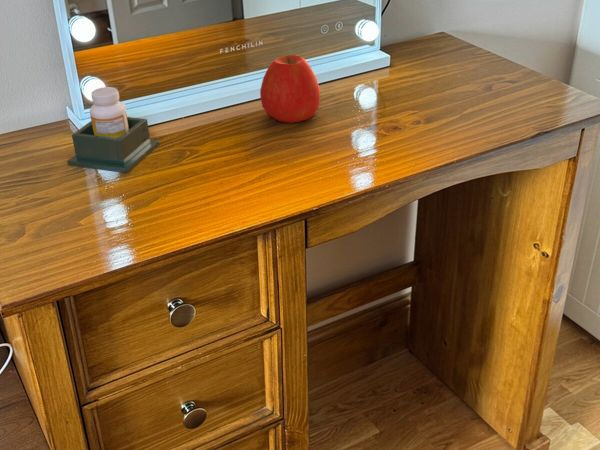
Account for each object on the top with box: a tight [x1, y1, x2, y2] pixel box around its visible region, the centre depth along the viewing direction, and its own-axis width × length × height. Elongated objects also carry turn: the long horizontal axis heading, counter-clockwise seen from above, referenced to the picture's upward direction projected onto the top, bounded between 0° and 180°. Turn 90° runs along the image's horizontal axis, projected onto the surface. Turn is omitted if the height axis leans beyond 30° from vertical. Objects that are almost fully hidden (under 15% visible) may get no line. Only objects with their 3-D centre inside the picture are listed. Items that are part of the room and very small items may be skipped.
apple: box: [259, 54, 321, 124], centre depth 130 cm, size 10×10×10 cm
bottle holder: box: [66, 116, 160, 174], centre depth 120 cm, size 10×10×5 cm
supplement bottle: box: [89, 86, 129, 138], centre depth 118 cm, size 5×5×10 cm
